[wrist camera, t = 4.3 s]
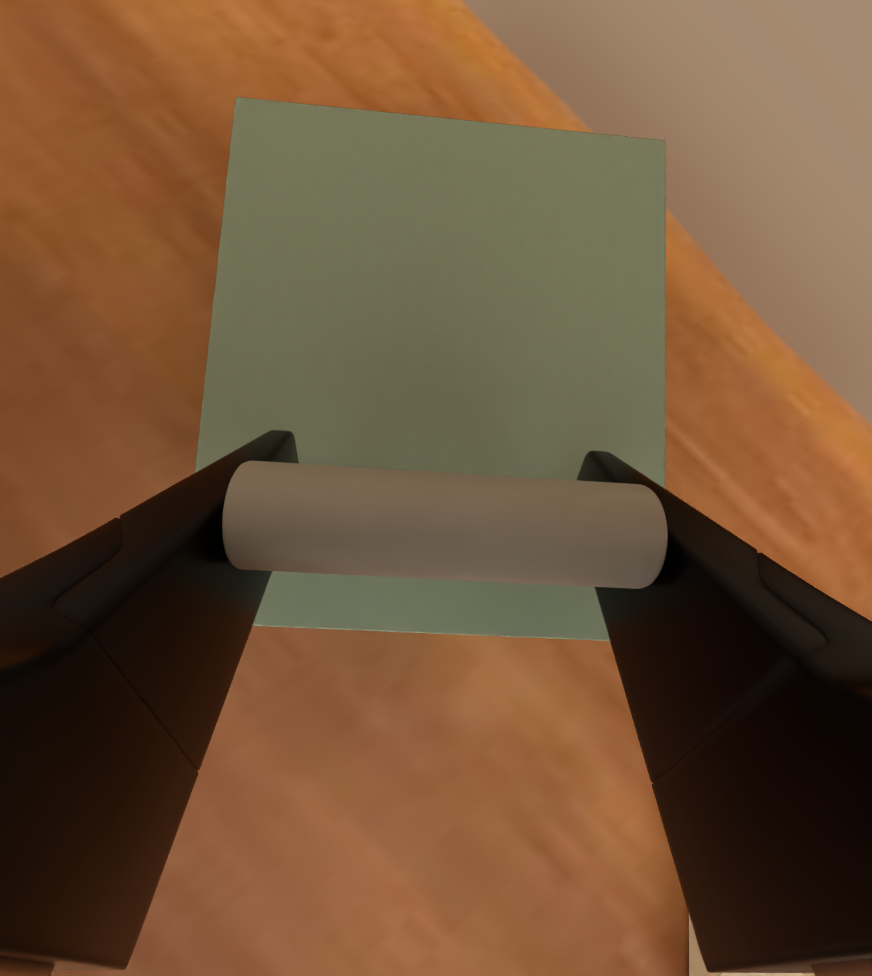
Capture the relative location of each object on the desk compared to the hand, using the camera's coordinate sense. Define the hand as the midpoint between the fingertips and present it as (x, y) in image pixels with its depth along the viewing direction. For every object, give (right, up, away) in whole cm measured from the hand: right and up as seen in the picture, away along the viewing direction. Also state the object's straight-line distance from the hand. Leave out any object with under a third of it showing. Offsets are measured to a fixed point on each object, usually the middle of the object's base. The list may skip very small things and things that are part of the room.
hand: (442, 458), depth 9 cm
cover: (0, +2, +3) cm, 3 cm away
